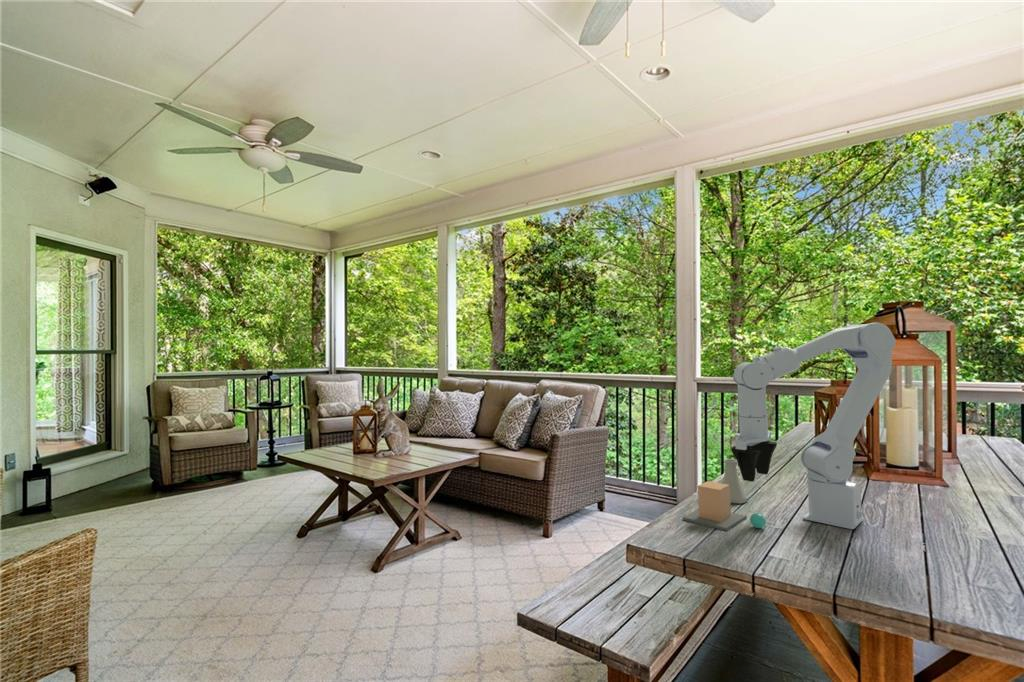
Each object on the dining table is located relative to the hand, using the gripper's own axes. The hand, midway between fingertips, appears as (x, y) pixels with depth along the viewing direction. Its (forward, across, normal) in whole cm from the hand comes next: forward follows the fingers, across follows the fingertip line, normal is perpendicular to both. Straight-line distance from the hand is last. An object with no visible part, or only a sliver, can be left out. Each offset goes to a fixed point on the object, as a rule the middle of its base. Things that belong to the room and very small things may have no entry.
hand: (755, 477), depth 108 cm
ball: (+9, +5, +2) cm, 11 cm away
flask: (+10, -10, -10) cm, 17 cm away
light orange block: (+9, +6, -7) cm, 13 cm away
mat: (+9, +6, -7) cm, 13 cm away
